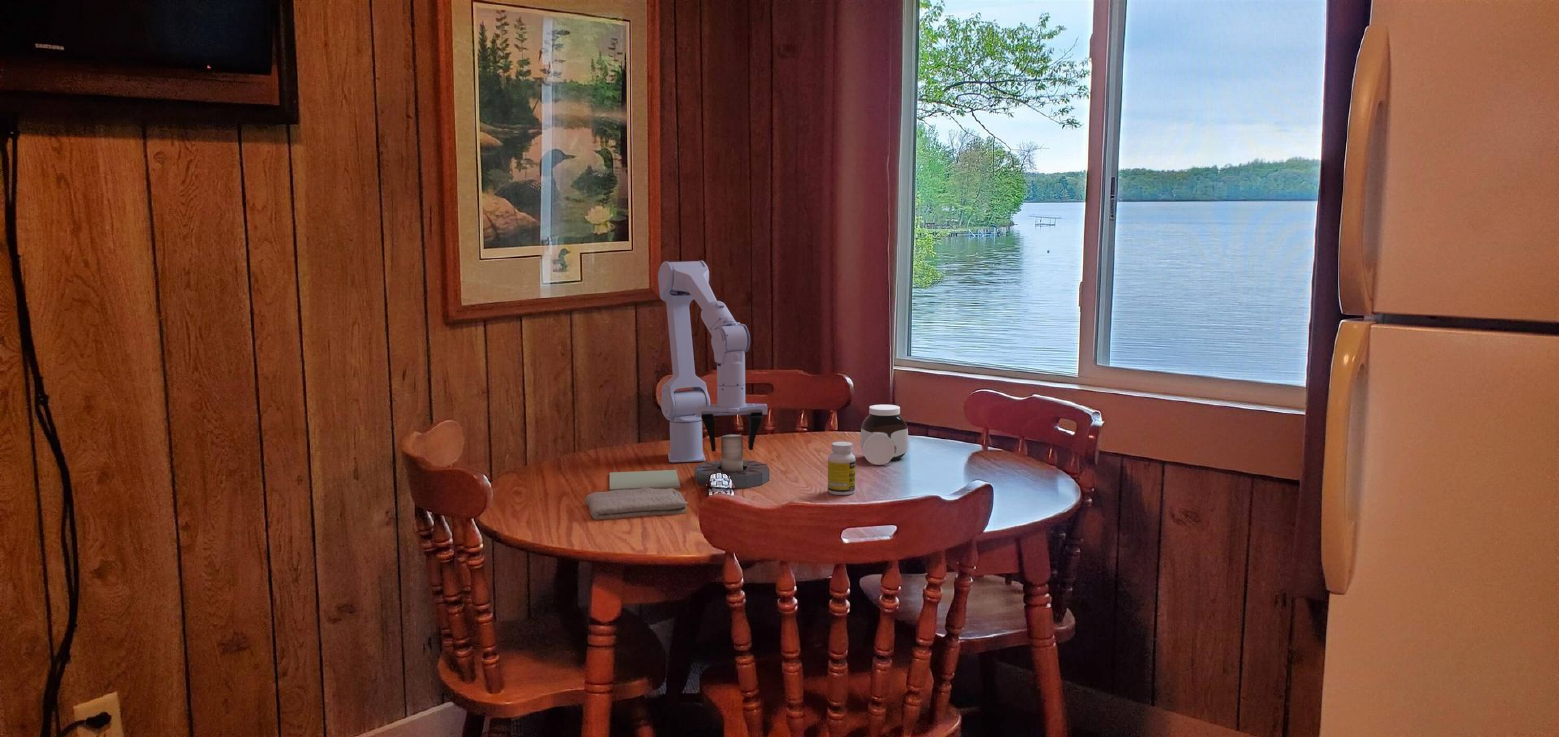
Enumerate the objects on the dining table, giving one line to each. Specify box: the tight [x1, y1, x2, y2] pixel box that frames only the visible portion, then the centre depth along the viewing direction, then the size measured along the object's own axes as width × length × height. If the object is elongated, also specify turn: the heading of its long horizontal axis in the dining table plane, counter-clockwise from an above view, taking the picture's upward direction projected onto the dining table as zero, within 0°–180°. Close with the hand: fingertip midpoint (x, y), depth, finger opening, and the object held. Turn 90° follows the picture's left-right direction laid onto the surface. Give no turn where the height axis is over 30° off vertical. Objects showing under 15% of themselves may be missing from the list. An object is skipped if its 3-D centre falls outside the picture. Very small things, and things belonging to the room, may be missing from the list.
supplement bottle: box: [827, 441, 856, 496], centre depth 212 cm, size 5×5×10 cm
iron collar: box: [694, 459, 770, 489], centre depth 224 cm, size 15×15×2 cm
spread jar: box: [860, 404, 909, 466], centre depth 240 cm, size 12×11×12 cm
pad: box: [609, 469, 681, 491], centre depth 223 cm, size 14×14×1 cm
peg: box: [720, 434, 744, 471], centre depth 223 cm, size 4×4×9 cm
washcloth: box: [584, 487, 689, 521], centre depth 202 cm, size 12×18×3 cm, turn 106°
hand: (732, 449), depth 223 cm, fingers open, 7 cm apart
